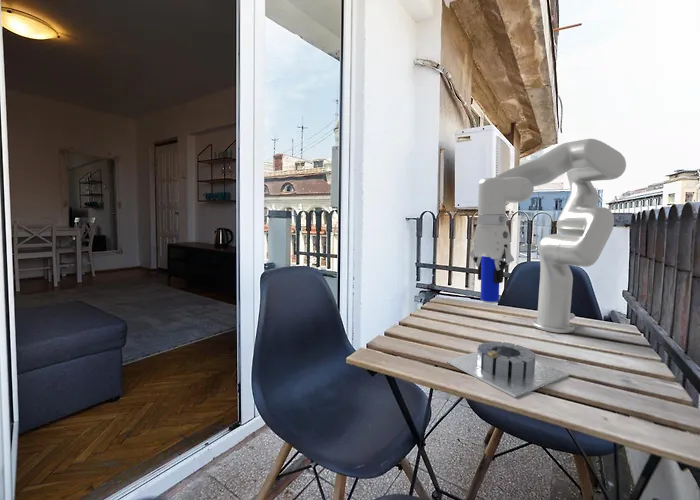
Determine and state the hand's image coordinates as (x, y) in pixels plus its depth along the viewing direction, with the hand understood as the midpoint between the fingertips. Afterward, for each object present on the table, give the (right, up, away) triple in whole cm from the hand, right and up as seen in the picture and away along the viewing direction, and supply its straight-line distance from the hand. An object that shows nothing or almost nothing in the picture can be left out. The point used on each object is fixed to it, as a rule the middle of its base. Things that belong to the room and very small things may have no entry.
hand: (490, 280), depth 107 cm
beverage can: (0, -7, +1) cm, 7 cm away
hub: (-3, -21, -18) cm, 28 cm away
